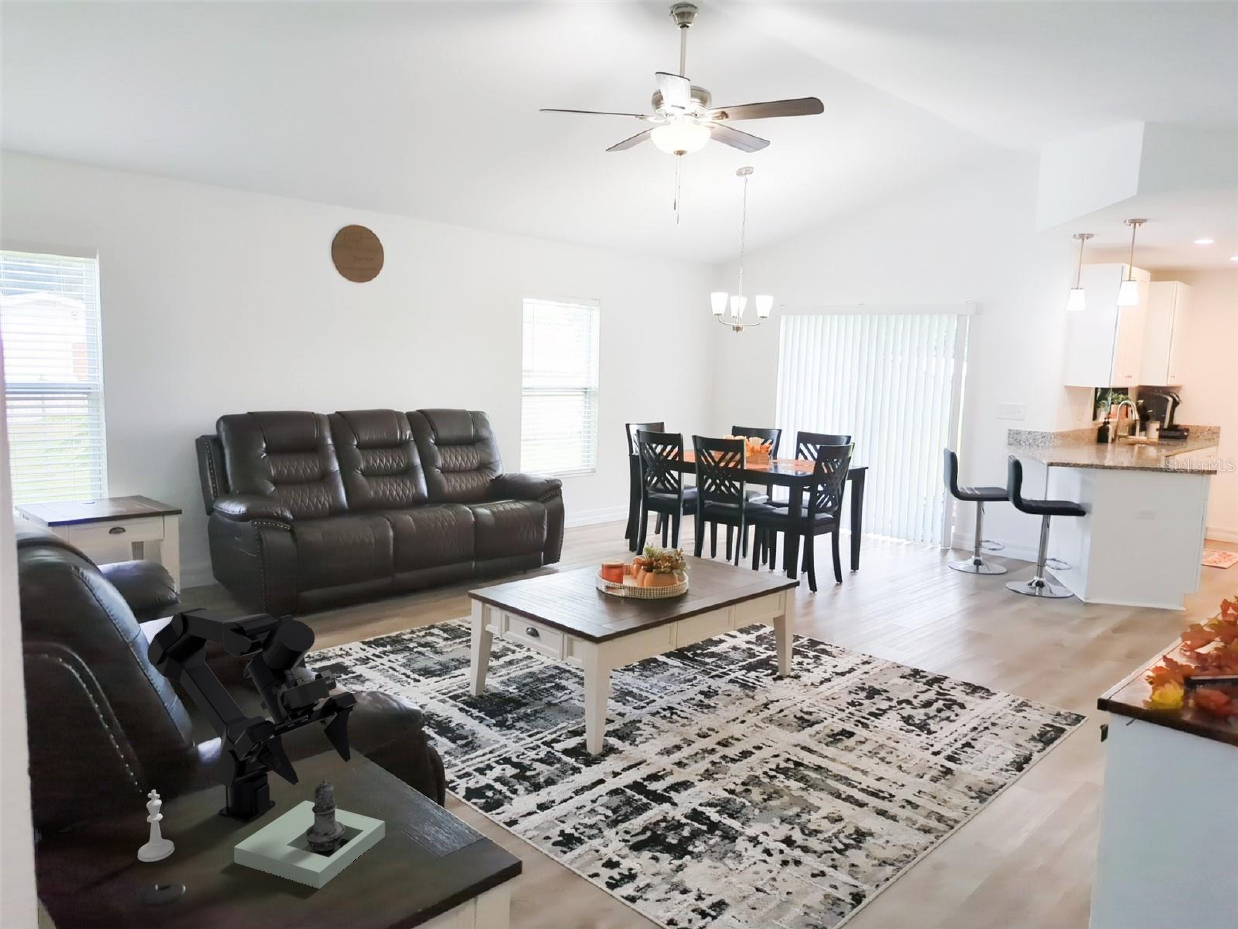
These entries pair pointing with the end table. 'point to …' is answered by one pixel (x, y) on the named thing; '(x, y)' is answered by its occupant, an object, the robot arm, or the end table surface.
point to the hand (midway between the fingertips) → (323, 772)
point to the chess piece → (155, 834)
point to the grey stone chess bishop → (324, 823)
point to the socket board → (286, 838)
